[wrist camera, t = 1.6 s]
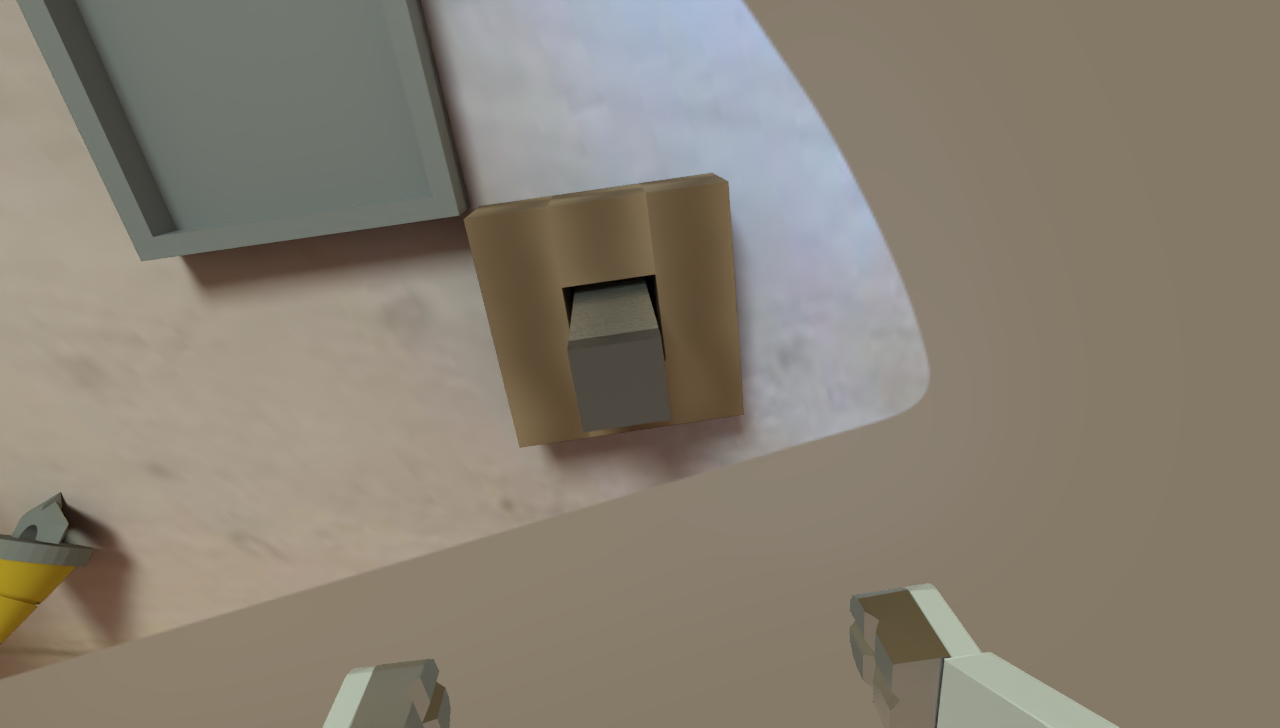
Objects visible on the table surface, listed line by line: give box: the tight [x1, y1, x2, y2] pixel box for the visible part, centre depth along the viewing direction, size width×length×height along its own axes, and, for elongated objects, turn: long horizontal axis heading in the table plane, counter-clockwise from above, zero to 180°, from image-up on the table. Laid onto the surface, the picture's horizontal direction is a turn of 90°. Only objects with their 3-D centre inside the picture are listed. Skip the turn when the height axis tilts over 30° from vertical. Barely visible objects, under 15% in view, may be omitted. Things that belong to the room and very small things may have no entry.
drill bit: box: [0, 492, 94, 645], centre depth 33 cm, size 5×5×10 cm
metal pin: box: [567, 276, 671, 433], centre depth 27 cm, size 4×4×11 cm
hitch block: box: [463, 173, 744, 448], centre depth 31 cm, size 12×12×4 cm
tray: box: [17, 0, 470, 261], centre depth 26 cm, size 15×15×2 cm
